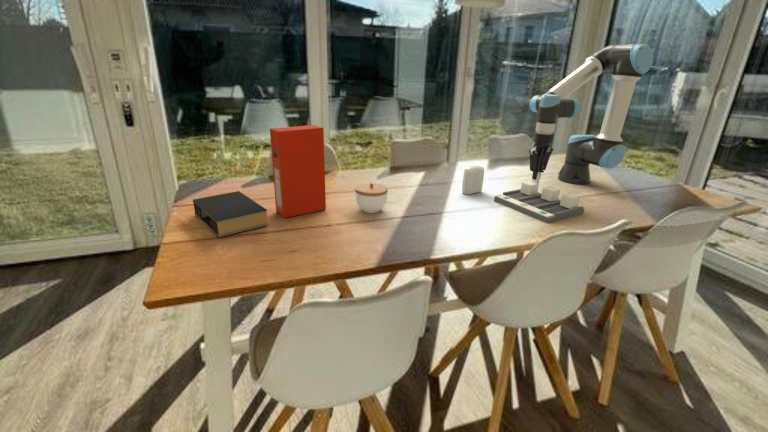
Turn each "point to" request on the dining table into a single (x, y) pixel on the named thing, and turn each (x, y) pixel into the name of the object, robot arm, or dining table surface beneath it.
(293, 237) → the dining table surface
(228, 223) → the book
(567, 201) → the tab
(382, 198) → the lidded bowl
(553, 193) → the middle tab
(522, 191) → the tab
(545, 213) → the dark grey slotted tray
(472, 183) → the photo printer
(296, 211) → the file binder
